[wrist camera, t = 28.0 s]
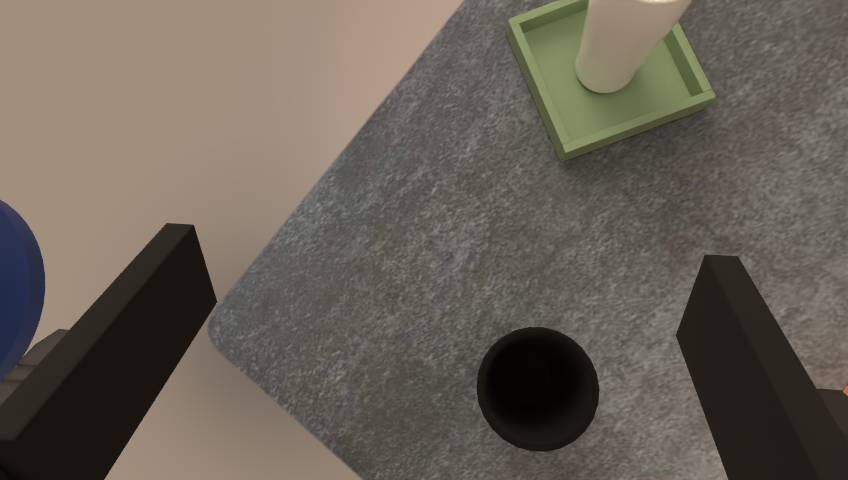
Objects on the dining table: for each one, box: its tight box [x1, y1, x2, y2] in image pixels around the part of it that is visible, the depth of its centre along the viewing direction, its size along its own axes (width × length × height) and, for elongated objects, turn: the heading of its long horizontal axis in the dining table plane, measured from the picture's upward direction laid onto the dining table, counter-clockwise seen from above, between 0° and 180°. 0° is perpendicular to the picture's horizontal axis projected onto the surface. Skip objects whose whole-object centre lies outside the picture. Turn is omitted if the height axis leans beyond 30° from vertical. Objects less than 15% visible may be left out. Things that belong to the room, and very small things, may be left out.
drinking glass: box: [575, 0, 692, 93], centre depth 42 cm, size 7×7×15 cm
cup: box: [477, 327, 599, 451], centre depth 40 cm, size 8×8×12 cm
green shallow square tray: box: [506, 0, 716, 162], centre depth 49 cm, size 14×14×3 cm
